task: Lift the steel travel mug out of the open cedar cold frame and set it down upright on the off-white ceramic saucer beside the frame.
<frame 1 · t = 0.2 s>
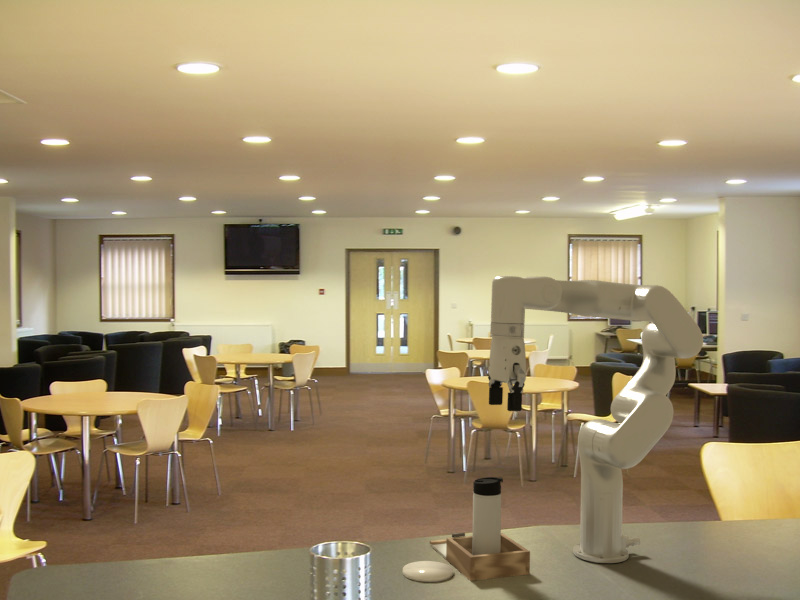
hand: (504, 407, 184), 35 cm above the counter, tool pointing down, fingers open, 9 cm apart
saucer: (427, 573, 179), on the counter
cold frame: (486, 566, 184), on the counter
travel mug: (486, 567, 184), resting in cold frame
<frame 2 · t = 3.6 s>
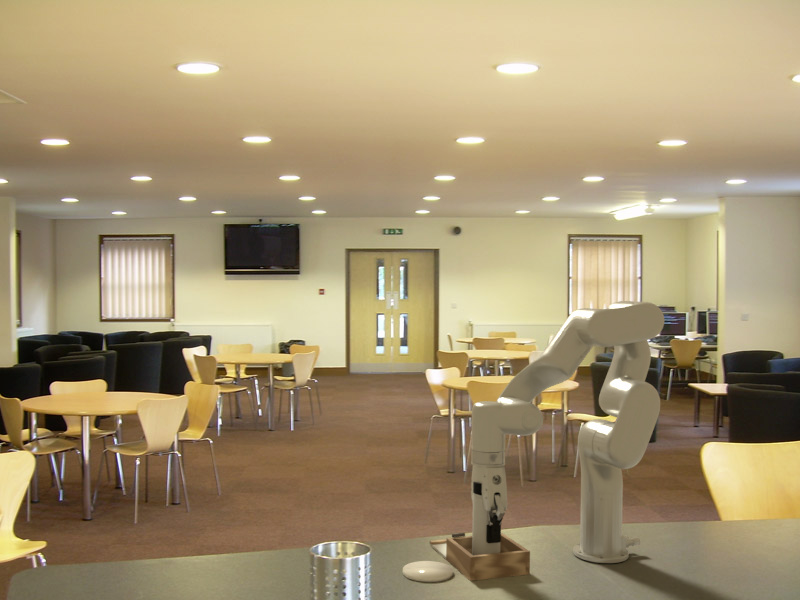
hand: (486, 537, 184), 7 cm above the counter, tool pointing down, fingers closed on travel mug, 6 cm apart
travel mug: (486, 567, 184), resting in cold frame, touching gripper
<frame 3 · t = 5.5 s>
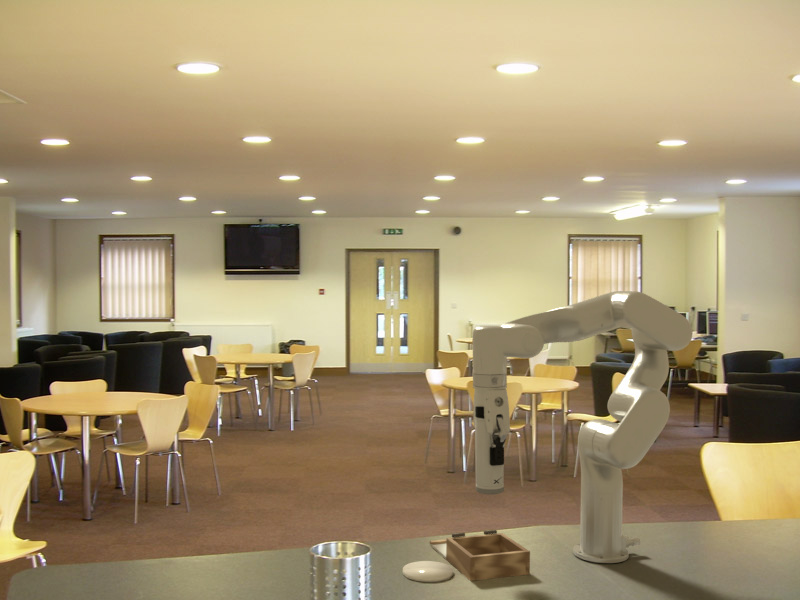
hand: (490, 461, 183), 24 cm above the counter, tool pointing down, fingers closed on travel mug, 6 cm apart
travel mug: (490, 491, 184), point 17 cm above the counter, touching gripper
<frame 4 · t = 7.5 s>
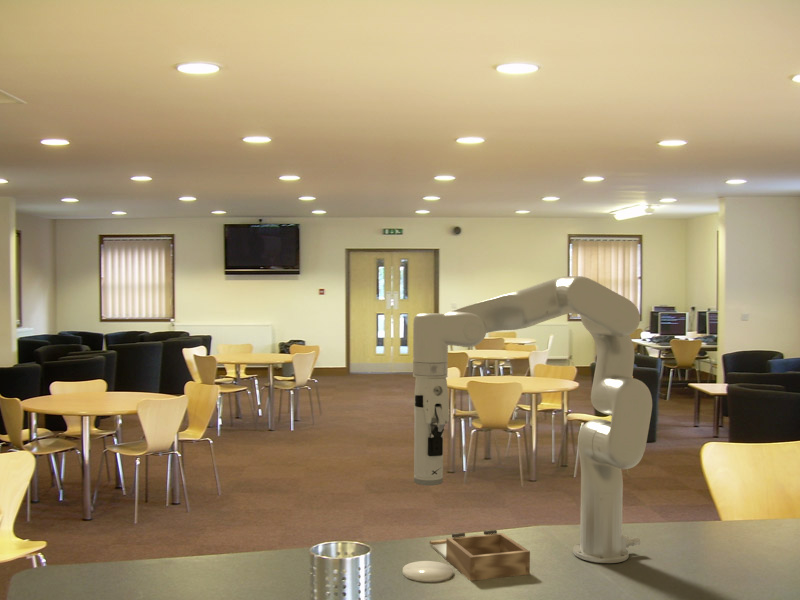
hand: (429, 451, 179), 26 cm above the counter, tool pointing down, fingers closed on travel mug, 6 cm apart
travel mug: (429, 483, 179), point 20 cm above the counter, touching gripper
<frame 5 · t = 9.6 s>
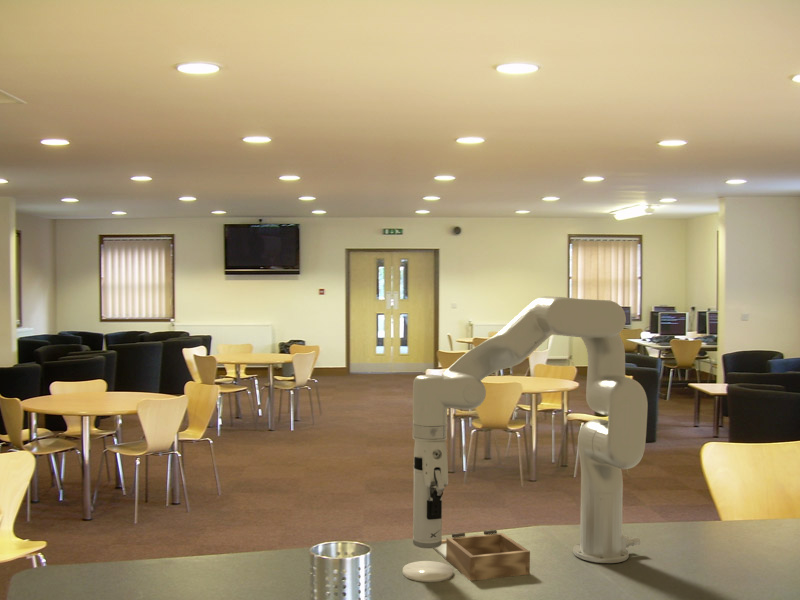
hand: (428, 513, 179), 13 cm above the counter, tool pointing down, fingers closed on travel mug, 6 cm apart
travel mug: (428, 545, 179), point 6 cm above the counter, touching gripper
when the fingers open (9 cm above the counter, at t = 11.5 s): travel mug drops 1 cm, resting on saucer.
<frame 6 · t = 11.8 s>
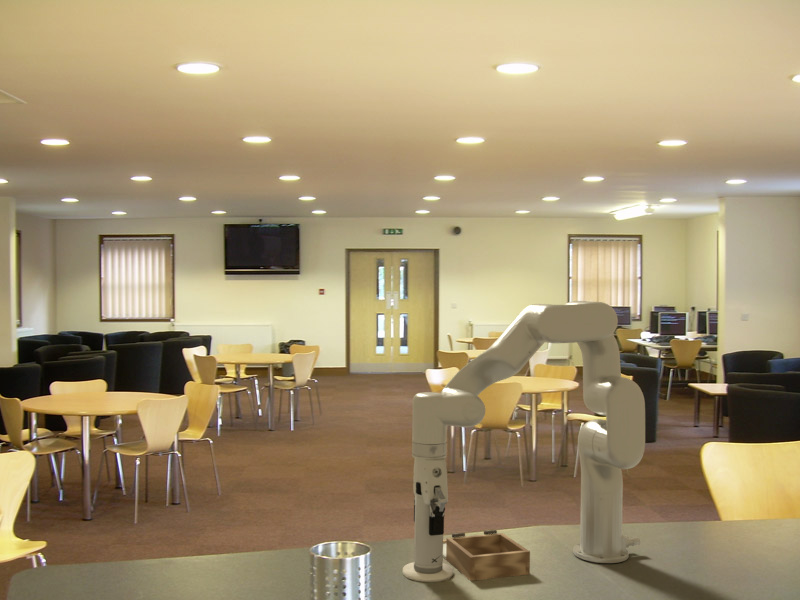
hand: (428, 528, 179), 10 cm above the counter, tool pointing down, fingers open, 9 cm apart
travel mug: (428, 570, 179), point 1 cm above the counter, touching saucer
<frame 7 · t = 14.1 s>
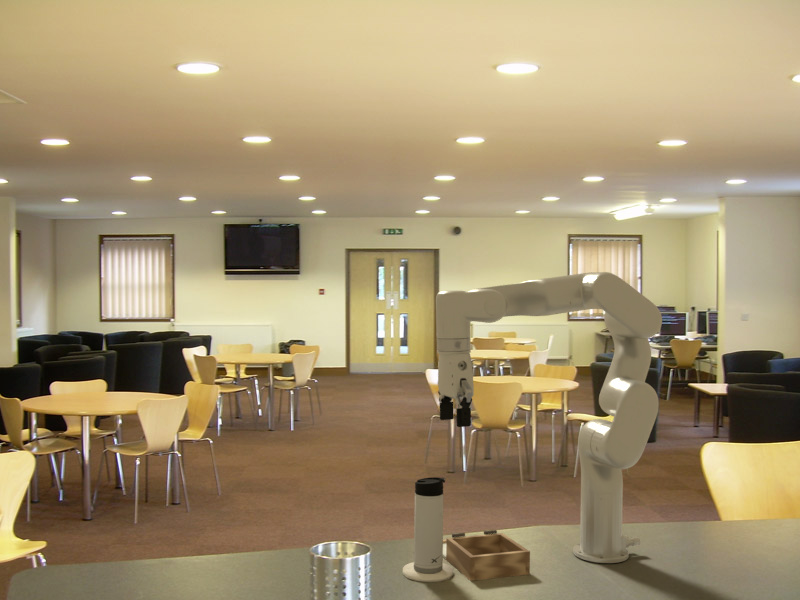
hand: (455, 422, 183), 32 cm above the counter, tool pointing down, fingers open, 9 cm apart
nothing on the counter moved.
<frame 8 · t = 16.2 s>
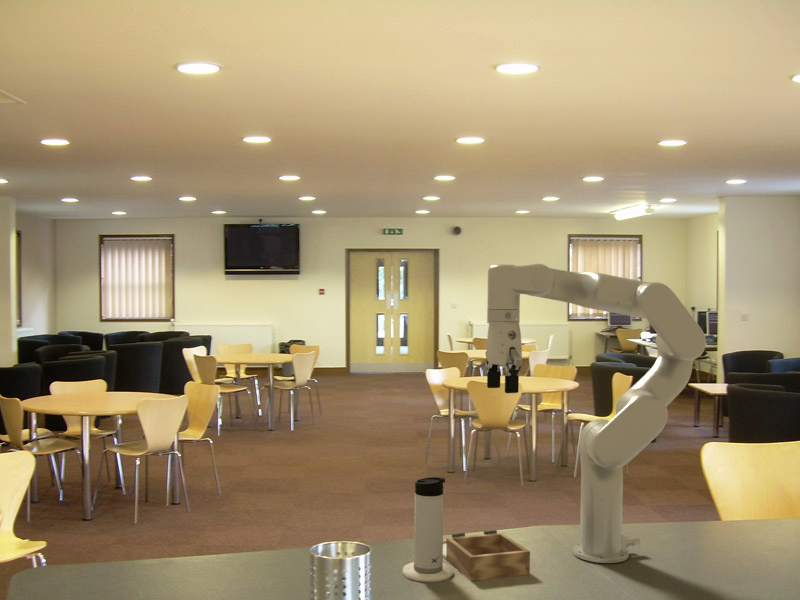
hand: (502, 390, 193), 38 cm above the counter, tool pointing down, fingers open, 9 cm apart
nothing on the counter moved.
at the end: travel mug 0.2 cm from the saucer (horizontally); travel mug tilted 0°; the gripper is holding nothing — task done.
